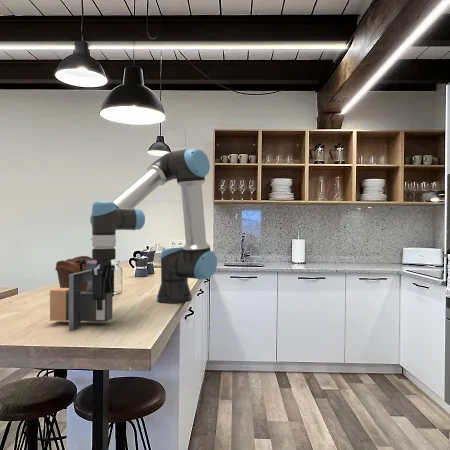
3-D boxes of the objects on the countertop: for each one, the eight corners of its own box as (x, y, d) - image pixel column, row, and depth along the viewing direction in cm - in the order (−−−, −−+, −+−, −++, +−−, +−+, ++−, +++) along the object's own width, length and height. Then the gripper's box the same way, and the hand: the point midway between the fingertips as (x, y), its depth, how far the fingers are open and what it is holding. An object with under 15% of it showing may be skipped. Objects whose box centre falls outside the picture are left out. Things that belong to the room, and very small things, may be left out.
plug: (113, 318, 140) (113, 288, 140) (106, 322, 134) (106, 291, 135) (58, 316, 142) (58, 287, 142) (50, 320, 137) (50, 290, 137)
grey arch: (97, 317, 147) (97, 268, 147) (73, 330, 129) (73, 274, 129) (93, 317, 147) (93, 268, 147) (68, 330, 129) (68, 274, 129)
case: (55, 297, 188) (56, 258, 189) (54, 291, 207) (55, 255, 207) (96, 295, 195) (96, 257, 196) (91, 290, 214) (92, 255, 214)
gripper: (103, 246, 147) (103, 312, 147) (81, 249, 129) (80, 323, 129) (124, 246, 146) (124, 312, 146) (104, 249, 128) (104, 324, 128)
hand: (103, 317), depth 137 cm, fingers closed on plug, 4 cm apart
